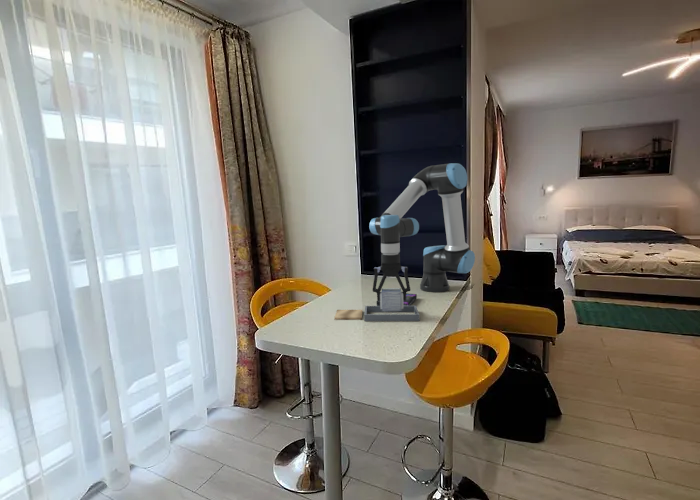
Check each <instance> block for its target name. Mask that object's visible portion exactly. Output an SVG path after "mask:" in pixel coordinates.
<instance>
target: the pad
mask: <svg viewBox="0 0 700 500" xmlns="http://www.w3.org/2000/svg"><path fill="white" fill-rule="evenodd" d="M363 311H364V310H363V309H337V310H336V313H335V315H334V320H336V321H337V320H344V321H345V320H357V321H358V320H363V319H362V318H363Z"/></svg>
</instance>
